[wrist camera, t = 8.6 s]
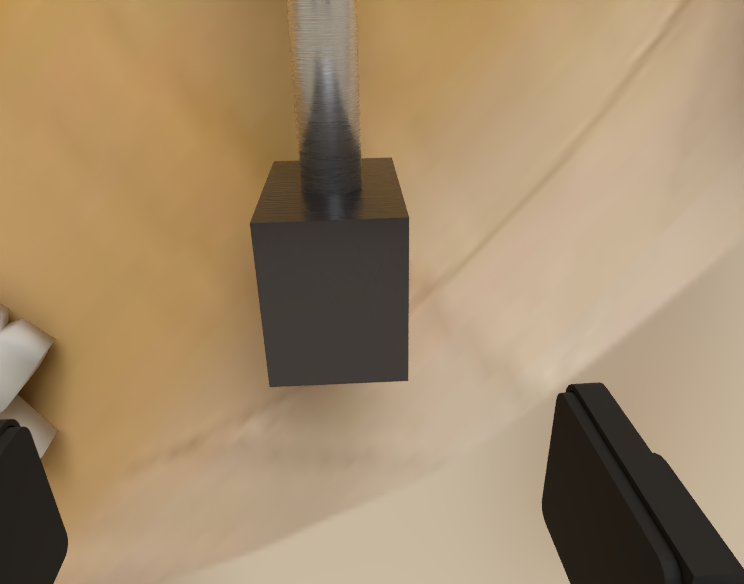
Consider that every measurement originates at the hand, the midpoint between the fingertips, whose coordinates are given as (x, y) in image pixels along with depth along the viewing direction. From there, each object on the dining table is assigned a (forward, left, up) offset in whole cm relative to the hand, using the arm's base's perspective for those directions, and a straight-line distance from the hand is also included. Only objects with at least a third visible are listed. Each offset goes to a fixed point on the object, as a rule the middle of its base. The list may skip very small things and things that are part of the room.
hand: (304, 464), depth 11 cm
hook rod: (+5, +7, -12) cm, 15 cm away
